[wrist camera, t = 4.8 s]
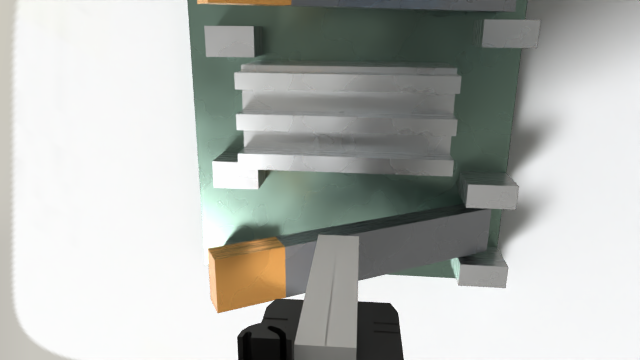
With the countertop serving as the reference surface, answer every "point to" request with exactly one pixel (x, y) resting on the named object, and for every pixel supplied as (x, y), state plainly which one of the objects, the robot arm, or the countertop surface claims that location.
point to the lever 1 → (384, 4)
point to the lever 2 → (374, 253)
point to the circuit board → (354, 119)
